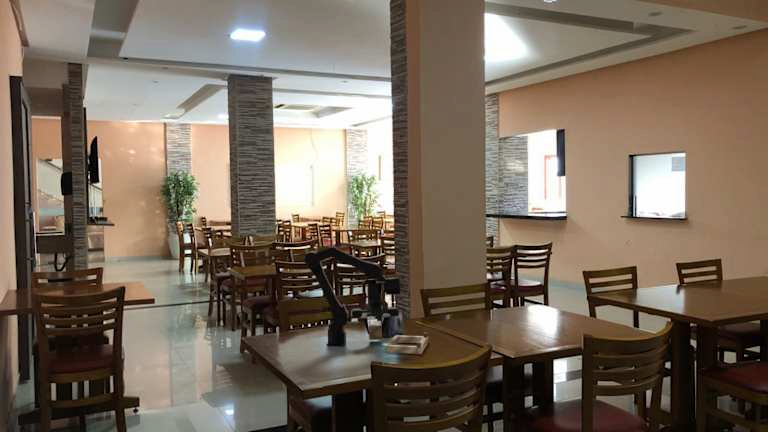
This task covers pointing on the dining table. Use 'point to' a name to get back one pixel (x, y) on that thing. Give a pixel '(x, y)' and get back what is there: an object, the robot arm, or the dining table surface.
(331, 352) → the dining table surface
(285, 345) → the dining table surface
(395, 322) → the small box
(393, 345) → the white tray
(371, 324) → the frame
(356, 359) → the dining table surface
